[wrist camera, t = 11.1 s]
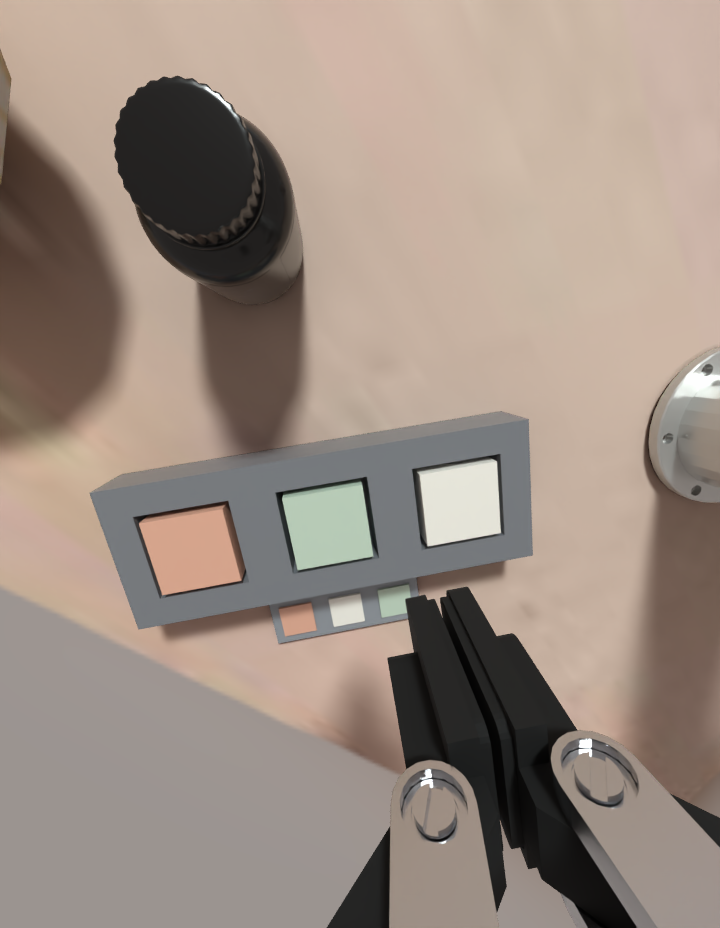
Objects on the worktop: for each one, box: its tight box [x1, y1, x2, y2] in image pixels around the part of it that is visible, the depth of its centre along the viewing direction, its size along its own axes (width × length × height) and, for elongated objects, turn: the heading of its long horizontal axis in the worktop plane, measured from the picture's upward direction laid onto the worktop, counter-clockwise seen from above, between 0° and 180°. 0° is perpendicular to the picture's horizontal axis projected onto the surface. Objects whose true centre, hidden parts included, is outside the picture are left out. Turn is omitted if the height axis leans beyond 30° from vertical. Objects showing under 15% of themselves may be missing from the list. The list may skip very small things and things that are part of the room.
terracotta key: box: [139, 501, 246, 595], centre depth 27 cm, size 5×5×3 cm
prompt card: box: [269, 577, 419, 643], centre depth 32 cm, size 12×4×1 cm, turn 99°
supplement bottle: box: [114, 76, 303, 305], centre depth 19 cm, size 7×7×12 cm
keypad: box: [90, 411, 533, 629], centre depth 28 cm, size 28×10×4 cm, turn 99°
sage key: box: [282, 478, 373, 570], centre depth 27 cm, size 5×5×3 cm
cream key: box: [412, 456, 501, 546], centre depth 28 cm, size 5×5×3 cm
